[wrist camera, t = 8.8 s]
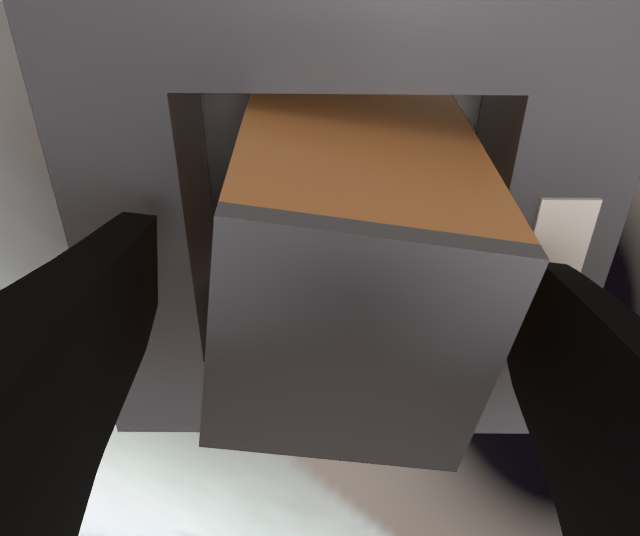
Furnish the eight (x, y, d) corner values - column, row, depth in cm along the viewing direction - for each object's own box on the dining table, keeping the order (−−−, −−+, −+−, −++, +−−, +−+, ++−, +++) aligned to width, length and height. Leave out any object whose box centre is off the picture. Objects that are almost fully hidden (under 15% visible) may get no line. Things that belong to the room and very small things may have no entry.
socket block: (145, 354, 18) (116, 434, 16) (54, -82, 12) (-19, -67, 9) (522, 356, 18) (555, 436, 16) (636, -78, 12) (724, -61, 9)
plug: (242, 234, 16) (199, 447, 10) (258, 64, 13) (214, 215, 8) (406, 256, 16) (456, 472, 11) (452, 94, 14) (549, 260, 8)
